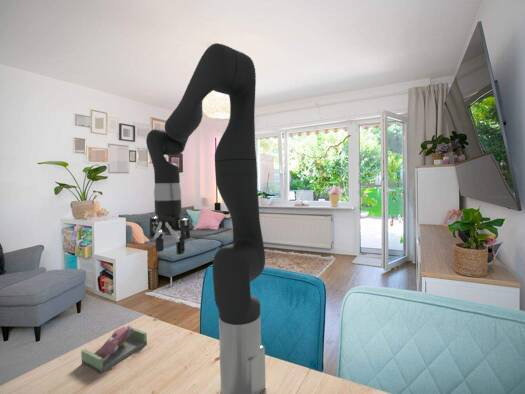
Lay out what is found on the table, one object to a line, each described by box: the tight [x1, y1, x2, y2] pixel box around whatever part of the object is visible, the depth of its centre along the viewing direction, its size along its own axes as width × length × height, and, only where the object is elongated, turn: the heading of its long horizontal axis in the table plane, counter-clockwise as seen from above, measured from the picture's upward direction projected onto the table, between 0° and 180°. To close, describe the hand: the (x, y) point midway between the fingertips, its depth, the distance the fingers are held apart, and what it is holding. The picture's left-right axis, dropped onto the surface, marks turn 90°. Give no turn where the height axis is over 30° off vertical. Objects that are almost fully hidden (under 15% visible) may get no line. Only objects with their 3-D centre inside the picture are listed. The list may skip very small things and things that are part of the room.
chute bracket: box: [80, 325, 148, 374], centre depth 74 cm, size 8×14×4 cm, turn 151°
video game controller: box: [94, 325, 134, 358], centre depth 74 cm, size 10×5×7 cm, turn 173°
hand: (169, 252), depth 81 cm, fingers open, 8 cm apart
